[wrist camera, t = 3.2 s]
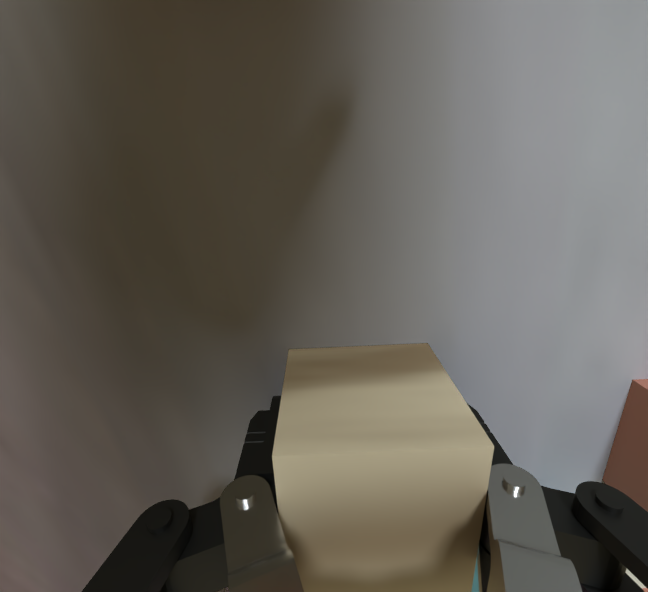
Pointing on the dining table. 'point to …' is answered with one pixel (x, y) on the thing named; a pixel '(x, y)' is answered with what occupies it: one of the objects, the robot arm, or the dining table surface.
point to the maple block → (379, 471)
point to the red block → (631, 447)
